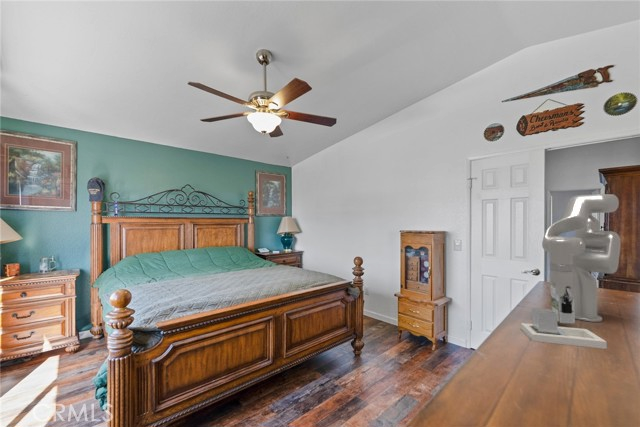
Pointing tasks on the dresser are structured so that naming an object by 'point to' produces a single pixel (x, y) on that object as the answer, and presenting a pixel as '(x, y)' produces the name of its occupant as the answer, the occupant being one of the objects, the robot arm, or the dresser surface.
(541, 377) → the dresser surface
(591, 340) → the pallet
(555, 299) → the syrup box
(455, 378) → the dresser surface
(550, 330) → the metal block
